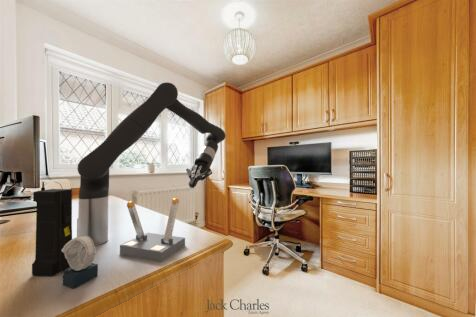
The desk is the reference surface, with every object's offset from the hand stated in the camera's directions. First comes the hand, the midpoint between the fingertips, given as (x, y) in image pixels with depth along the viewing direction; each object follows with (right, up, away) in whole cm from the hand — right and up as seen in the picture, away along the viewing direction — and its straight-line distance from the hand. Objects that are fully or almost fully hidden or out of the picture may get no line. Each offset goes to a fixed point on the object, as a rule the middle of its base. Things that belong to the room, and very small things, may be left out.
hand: (191, 186), depth 79 cm
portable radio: (-32, -20, -25) cm, 46 cm away
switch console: (-10, -20, -13) cm, 26 cm away
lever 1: (-15, -17, -11) cm, 25 cm away
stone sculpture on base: (-21, -20, -30) cm, 42 cm away
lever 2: (-5, -16, -15) cm, 22 cm away
